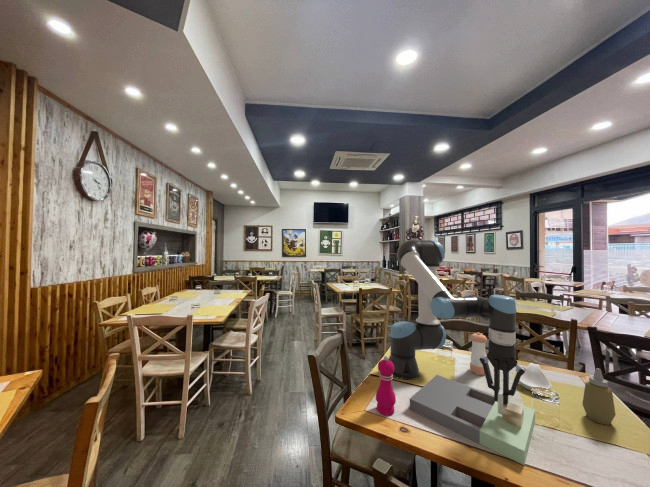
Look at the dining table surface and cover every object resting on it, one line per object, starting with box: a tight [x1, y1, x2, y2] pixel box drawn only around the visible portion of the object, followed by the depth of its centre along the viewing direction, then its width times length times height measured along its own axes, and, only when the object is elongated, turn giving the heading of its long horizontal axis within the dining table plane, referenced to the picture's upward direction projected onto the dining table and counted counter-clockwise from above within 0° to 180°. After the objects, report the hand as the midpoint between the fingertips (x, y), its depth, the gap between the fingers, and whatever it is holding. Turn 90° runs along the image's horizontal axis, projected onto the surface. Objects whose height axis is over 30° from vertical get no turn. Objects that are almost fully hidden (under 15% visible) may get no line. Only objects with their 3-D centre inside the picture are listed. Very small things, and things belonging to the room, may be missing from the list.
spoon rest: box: [518, 362, 552, 392], centre depth 115 cm, size 24×12×7 cm, turn 140°
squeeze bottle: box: [582, 367, 616, 426], centre depth 91 cm, size 8×8×18 cm
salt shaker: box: [469, 331, 488, 376], centre depth 125 cm, size 7×7×19 cm
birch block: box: [502, 402, 524, 428], centre depth 83 cm, size 5×5×4 cm
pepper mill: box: [375, 355, 397, 416], centre depth 94 cm, size 7×7×20 cm
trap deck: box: [409, 374, 536, 466], centre depth 92 cm, size 34×26×4 cm
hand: (501, 412), depth 85 cm, fingers closed
